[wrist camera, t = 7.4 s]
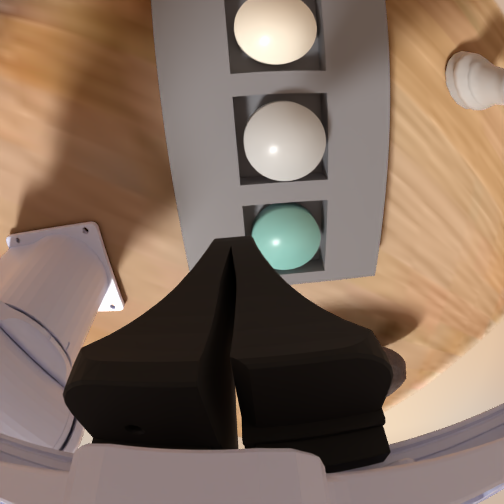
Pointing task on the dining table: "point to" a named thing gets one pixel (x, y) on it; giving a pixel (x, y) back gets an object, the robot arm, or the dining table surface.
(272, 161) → the grey button
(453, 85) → the rook chess piece
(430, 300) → the dining table surface
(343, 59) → the button board
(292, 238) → the teal button
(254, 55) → the cream button
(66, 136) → the dining table surface
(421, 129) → the dining table surface
